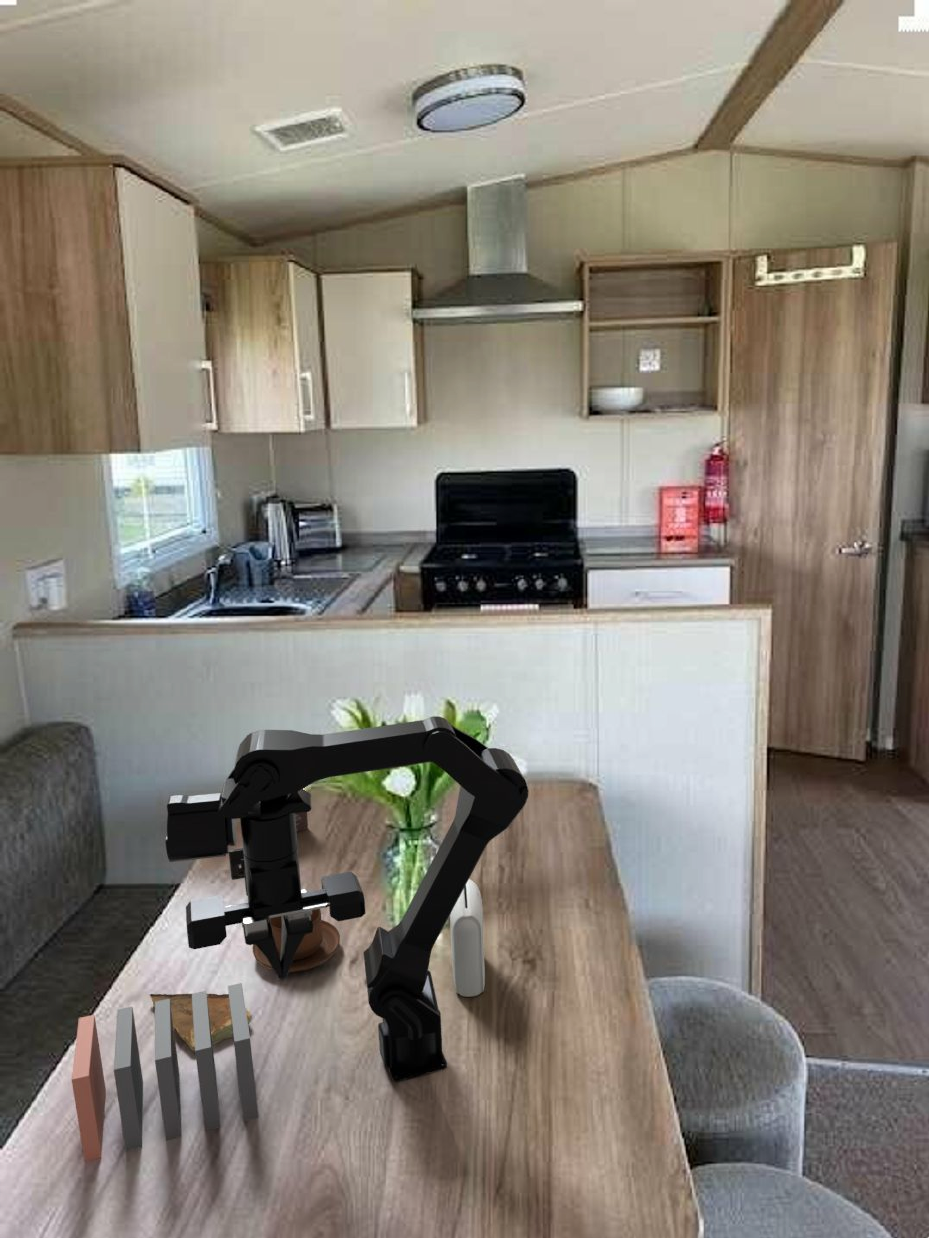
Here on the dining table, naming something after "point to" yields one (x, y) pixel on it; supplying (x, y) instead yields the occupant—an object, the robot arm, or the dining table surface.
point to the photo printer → (468, 942)
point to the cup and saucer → (305, 944)
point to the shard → (184, 1016)
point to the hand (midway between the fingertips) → (282, 976)
